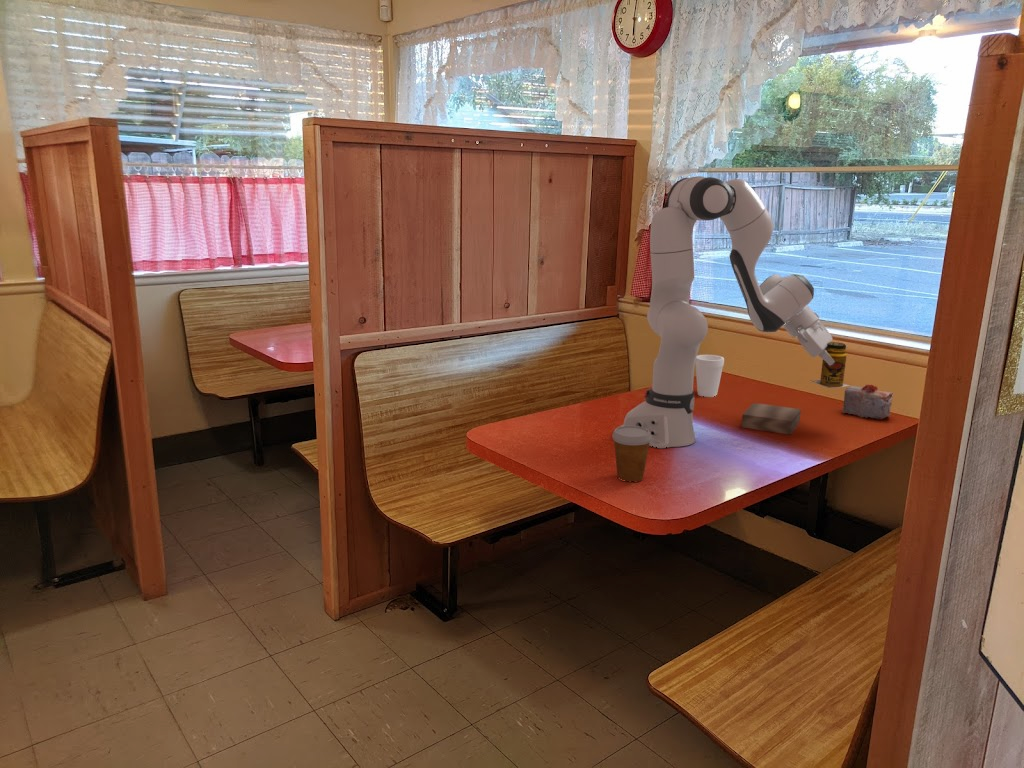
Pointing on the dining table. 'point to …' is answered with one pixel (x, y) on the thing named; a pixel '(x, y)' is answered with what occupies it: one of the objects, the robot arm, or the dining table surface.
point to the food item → (867, 402)
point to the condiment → (833, 366)
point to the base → (771, 418)
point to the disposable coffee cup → (631, 451)
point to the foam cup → (708, 374)
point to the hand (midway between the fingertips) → (834, 361)
